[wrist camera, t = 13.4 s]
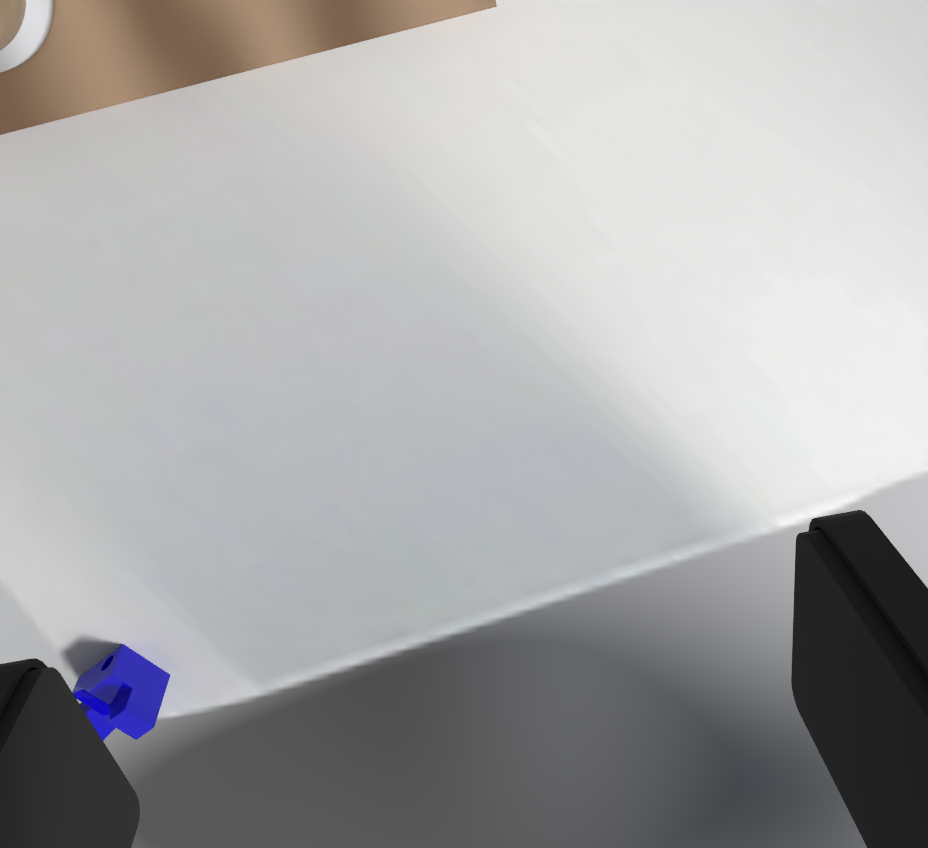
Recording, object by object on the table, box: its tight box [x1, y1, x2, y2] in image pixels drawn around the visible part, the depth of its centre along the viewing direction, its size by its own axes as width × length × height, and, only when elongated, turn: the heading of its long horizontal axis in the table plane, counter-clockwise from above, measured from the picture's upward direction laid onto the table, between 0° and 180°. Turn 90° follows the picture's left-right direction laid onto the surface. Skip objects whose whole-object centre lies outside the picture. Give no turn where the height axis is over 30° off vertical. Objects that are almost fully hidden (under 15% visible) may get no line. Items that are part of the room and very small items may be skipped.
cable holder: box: [72, 644, 170, 741], centre depth 48 cm, size 8×4×4 cm, turn 129°
